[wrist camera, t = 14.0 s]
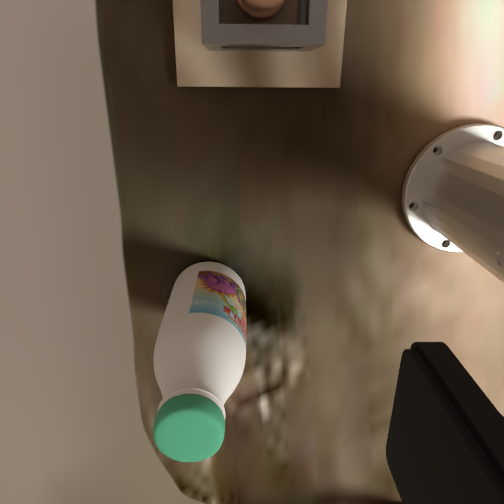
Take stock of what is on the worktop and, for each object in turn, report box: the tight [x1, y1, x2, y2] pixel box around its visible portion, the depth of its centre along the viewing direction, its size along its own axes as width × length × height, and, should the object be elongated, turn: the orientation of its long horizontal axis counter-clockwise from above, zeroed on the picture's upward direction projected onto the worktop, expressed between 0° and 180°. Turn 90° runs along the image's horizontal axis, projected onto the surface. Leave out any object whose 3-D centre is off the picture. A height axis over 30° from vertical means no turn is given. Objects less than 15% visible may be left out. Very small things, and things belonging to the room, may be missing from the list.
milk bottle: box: [153, 262, 246, 462], centre depth 36 cm, size 8×8×20 cm
